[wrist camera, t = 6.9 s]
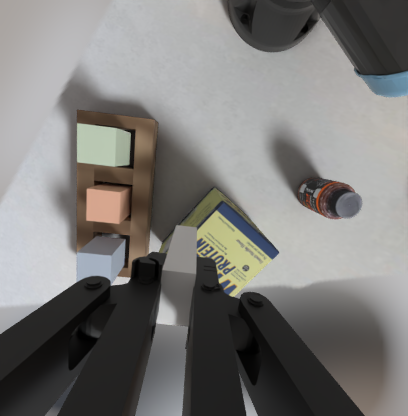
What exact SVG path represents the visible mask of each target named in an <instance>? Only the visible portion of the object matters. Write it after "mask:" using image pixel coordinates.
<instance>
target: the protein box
mask: <svg viewBox="0 0 408 416" xmlns="http://www.w3.org/2000/svg"><path fill="white" fill-rule="evenodd" d="M179 225H181V226H189V227H196V228H197V257H205V258H212V259H213V260H214V261H215V262H216V267H217V273H218V279H219V283H220V284H221V285H222V287H223V289H224V292H225V293H226V294H228V295H230V296H232V297H234V296H235V295H236V294H237V293H238V292H239V291H240V290H241V289H242V288H243V287H245V286H246V285H247V283H249V282H250V281H251V280H252V279H253V278H254V277H255V276H256V275H257V274H258V273H259V272H260V271H261V270H262V269H263V268H264V267H265V266H266V265H267V264H268V263H269V262H270V261H271V260H272V259H273V258H275V257H276V256H277V255H278V254H279V251H278V250H277V249H276V248H275V247H274V245H273V244H272V243H271V242H270V241H269V240H268V239H267V238H266V237H265V236H264V234H263V233H262V232H261V231H260V230H259V229H258V228H257V226H256V225H255V224H254V223H253V222H252V221H251V220H250V219H249V218H248V217H247V216H246V215H245V214H244V213H243V212H242V211H241V210H240V209H239V208H238V207H237V206H235V205H234V204H233V203H232V202H231V201H230V200H229V199H228V198H227V197H226V196H224V195H223V194H222V193H221V192H220V191H219V190H218V189H217V188H215V187H213V188H212V189H211V190H210V191H209V193H208V194H207V195H206V196H205V197H204V198H203V199H202V200H201V201H200V202H199V203H198V204H197V206H196V207H195V208H194V209H193V210H192V211H191V212H190V213H189V214H188V215H187V216H186V217H185V218H184V220H183V221H182V222H181V223H180V224H179ZM174 230H175V229H174ZM174 230H173V231H172V233H171V234H170V235H169V236H168V237H167V238H166V239H165V240H164V241H163V243H162V246H161V248H160V251H159V253H166V254H167V253H168V250H169V246H170V243H171V240H172V237H173V233H174Z"/></svg>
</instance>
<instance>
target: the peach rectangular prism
mask: <svg viewBox="0 0 408 416" xmlns="http://www.w3.org/2000/svg"><path fill="white" fill-rule="evenodd" d="M132 190H133V186H125V185H117V184H108V183H103V184H100V185H97V186H94V187H90V188H87V212H86V221H96V222H106V223H115V224H120V223H121V222H122V221H123V220H124V219H125V218H126V217H127V216H129V215H130V214H131V209H132Z"/></svg>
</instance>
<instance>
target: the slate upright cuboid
mask: <svg viewBox="0 0 408 416" xmlns="http://www.w3.org/2000/svg"><path fill="white" fill-rule="evenodd" d="M125 240H126V239H120V238H111V237H101V236H96V237H95V238H94V239H92V240H91V241H90V242H89V243H88V244H86V245H85V246H84V247H83V248H81V249H80V250H79V251H78V252H77V282H78V281H79V280H81V279H83V278H86V277H90V276H103V277H106V278H108V279H109V280H110V281H111V284H112V283H113V281H114V280H115V278H116V277H117V275H118V274H119V272H120V271H121V269H122V268H123V266H124V259H125Z"/></svg>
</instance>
